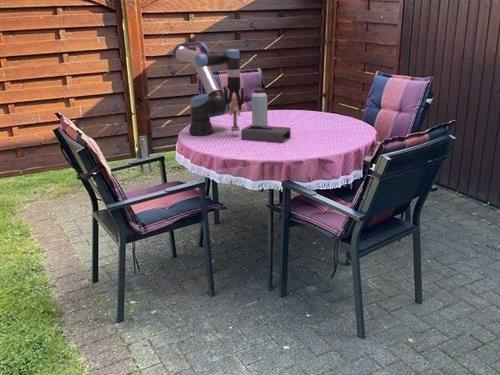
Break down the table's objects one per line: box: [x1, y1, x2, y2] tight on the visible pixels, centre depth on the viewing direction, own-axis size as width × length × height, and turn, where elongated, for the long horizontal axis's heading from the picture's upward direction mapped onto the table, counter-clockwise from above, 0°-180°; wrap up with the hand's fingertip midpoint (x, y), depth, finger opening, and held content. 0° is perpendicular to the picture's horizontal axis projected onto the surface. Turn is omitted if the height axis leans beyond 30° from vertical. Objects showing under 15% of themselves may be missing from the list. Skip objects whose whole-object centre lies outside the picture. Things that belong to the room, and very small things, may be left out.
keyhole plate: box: [240, 124, 292, 144], centre depth 304 cm, size 26×14×6 cm, turn 66°
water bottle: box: [251, 88, 269, 126], centre depth 327 cm, size 10×10×25 cm
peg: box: [230, 101, 240, 132], centre depth 309 cm, size 5×5×17 cm
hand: (234, 115), depth 309 cm, fingers closed on peg, 4 cm apart
